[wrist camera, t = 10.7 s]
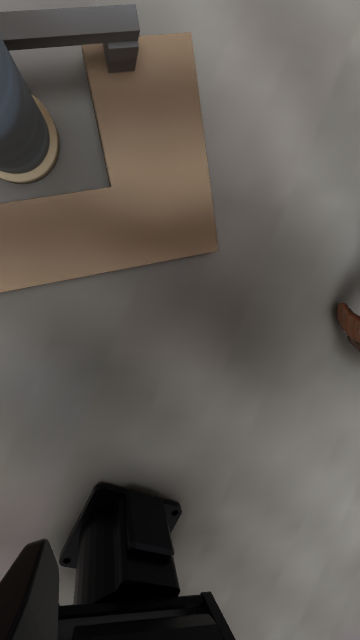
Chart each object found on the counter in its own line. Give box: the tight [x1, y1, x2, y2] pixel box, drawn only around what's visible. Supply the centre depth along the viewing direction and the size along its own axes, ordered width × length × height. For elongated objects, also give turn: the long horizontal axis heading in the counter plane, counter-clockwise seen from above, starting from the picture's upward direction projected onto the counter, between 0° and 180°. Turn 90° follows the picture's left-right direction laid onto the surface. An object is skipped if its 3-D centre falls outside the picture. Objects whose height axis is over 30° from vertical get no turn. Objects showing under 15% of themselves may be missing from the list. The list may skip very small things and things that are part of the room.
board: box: [0, 4, 219, 292], centre depth 14 cm, size 10×18×4 cm, turn 100°
